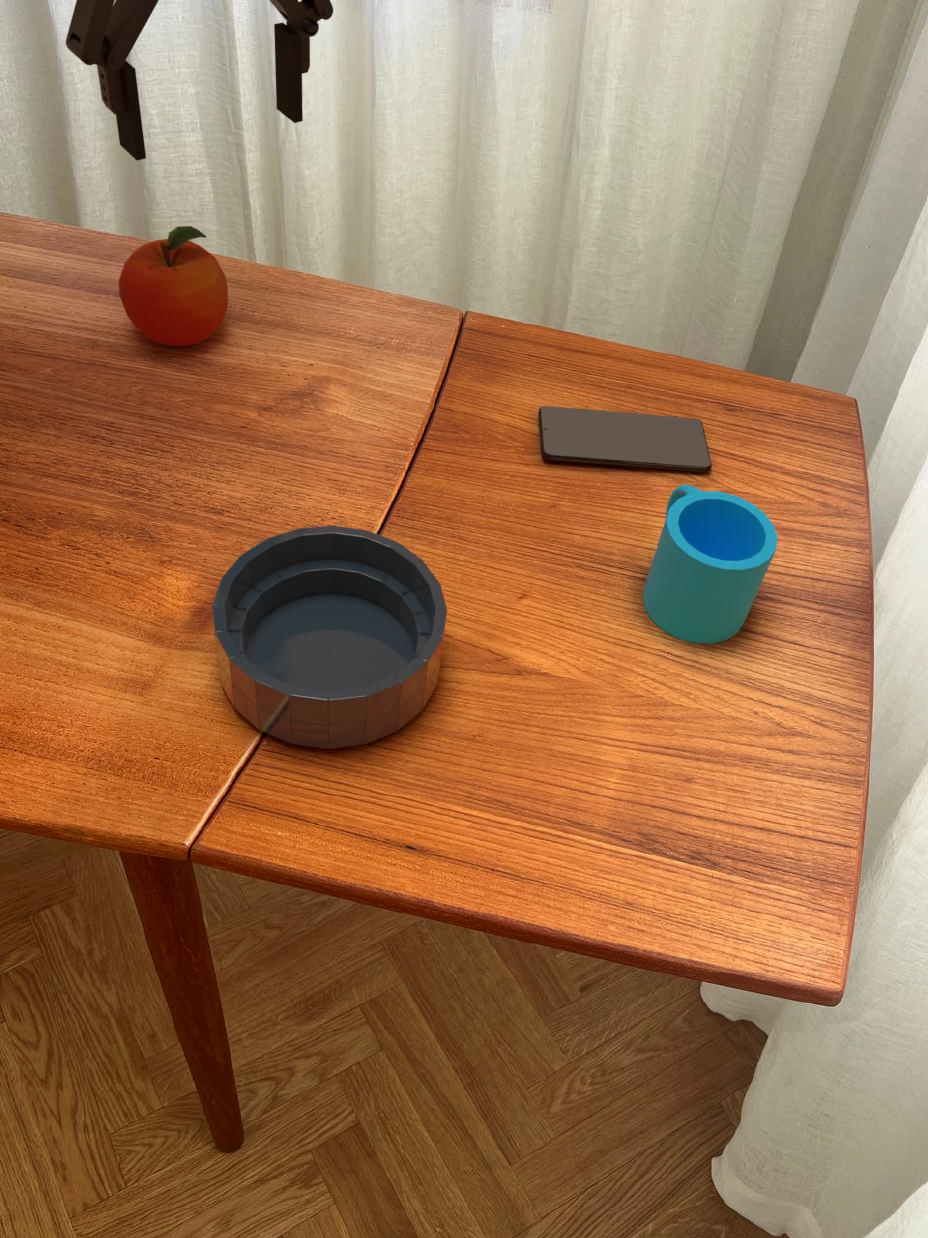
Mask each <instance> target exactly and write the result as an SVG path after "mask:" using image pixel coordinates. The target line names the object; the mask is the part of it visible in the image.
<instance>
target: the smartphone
mask: <svg viewBox="0 0 928 1238" xmlns="http://www.w3.org/2000/svg"><path fill="white" fill-rule="evenodd" d="M537 413H538V415H537V416H538V427H539V439H540V450H541V456H542V458H543V459H545V460H547V461H554V462H567V463H581V464H593V465H605V466H606V465H607V466H616V467H617V466H618V467H630V468H642V469H643V468H644V469H655V470H656V469H657V470H666V471H667V470H668V471H683V472H693V473H694V472H695V473H708V472H711V470H712V467H713V464H712V460H711V455H710V451H709V448H708V442H707V437H706V434H705V429H704V424H703V421H702V420H700V419H699V418H695V417H684V416H683V417H682V416H673V415H672V416H671V415H659V414H650V413H649V414H647V413H636V412H635V413H634V412H623V411H610V410H598V409H589V408H588V409H587V408H575V407H574V408H573V407H562V406H551V405H542V406H540V407H539V409H538V412H537Z"/></svg>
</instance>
